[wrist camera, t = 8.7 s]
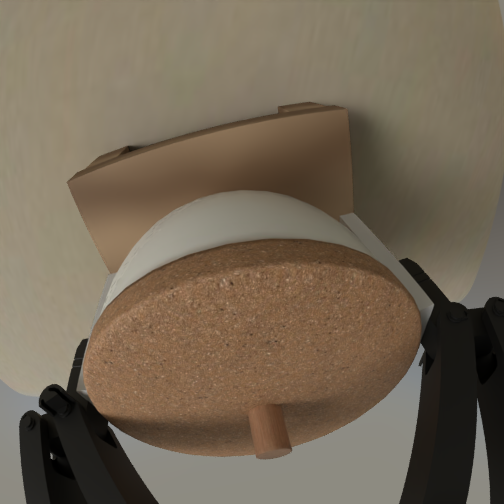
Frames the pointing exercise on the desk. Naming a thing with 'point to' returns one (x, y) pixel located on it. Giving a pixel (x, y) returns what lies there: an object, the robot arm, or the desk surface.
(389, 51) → the desk surface
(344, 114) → the wooden stand
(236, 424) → the lidded jar
